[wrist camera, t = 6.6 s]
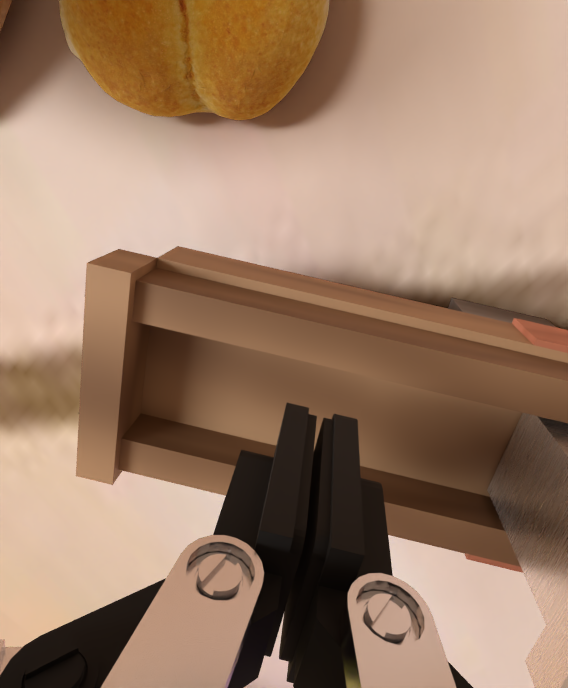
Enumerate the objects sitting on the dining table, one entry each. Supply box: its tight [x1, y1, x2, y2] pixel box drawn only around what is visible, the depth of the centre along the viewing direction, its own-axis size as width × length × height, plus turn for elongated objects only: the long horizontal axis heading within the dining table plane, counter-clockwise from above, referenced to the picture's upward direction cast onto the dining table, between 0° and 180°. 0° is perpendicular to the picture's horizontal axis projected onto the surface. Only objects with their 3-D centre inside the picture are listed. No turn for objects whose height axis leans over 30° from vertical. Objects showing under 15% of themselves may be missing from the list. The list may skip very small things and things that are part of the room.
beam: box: [76, 246, 568, 572], centre depth 17 cm, size 7×27×8 cm, turn 78°
